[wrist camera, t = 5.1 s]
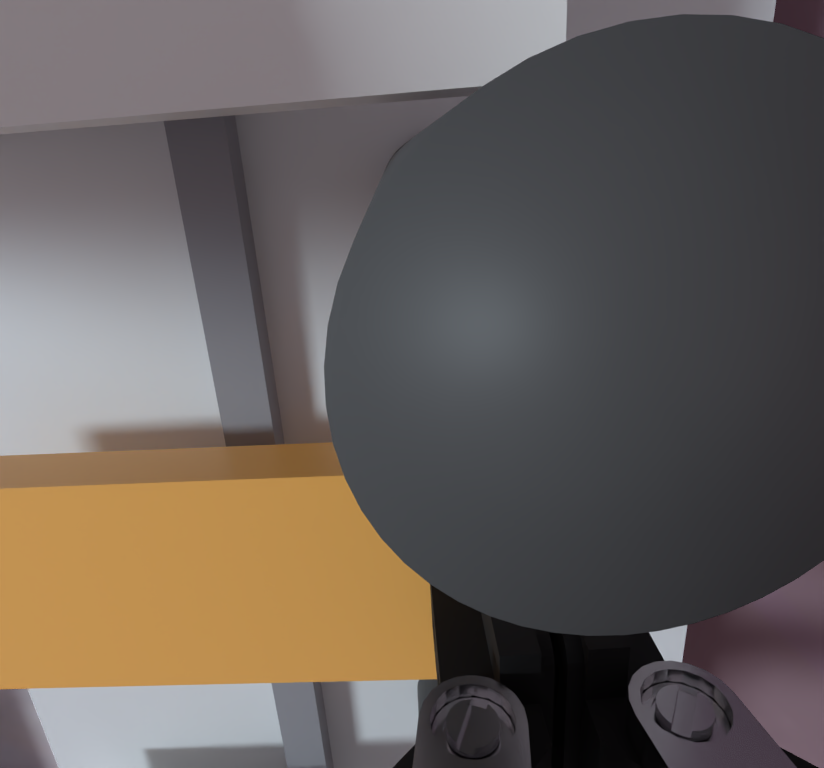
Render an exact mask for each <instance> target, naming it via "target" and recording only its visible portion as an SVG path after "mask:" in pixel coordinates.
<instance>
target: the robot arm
mask: <svg viewBox="0 0 824 768" xmlns="http://www.w3.org/2000/svg"><path fill="white" fill-rule="evenodd" d="M430 593H431V610H432V627H433V639H434V651H435V662H436V673H437V684H438V686H437V687H435V688H434V689H432V690H431V691H430V693H429V694H428V696H427V697H426V698H425V700H424V701H423V703H422V706H421V710H420V713H419V716H418V725H417V733H416V742H415V745H414V746H413V747H412V748H411V749H410V750H409V751H408V752H407V753H406V754H405V755H404V756H403V757H402V758H401V759H400V760H399V761H398V762H397V763H396V765H395V766H394V767H393V768H818V767H816V766H814V765H812V764H811V763H809V762H807V761H805V760H803V759H801V758H799V757H797V756H795V755H794V754H792V753H790V752H788V751H786V750H784V749H782V748H780V747H779V746H778V744H777V743H776V742H775V741H774V740H773V738H772V737H771V736H770V735H769V734H768V732H767V731H766V730H765V729H764V728H763V726H762V725H761V724H760V723H759V722H758V720H757V719H756V718H755V717H754V716H753V714H752V713H751V712H750V711H749V710H748V708H747V707H746V706H745V705H744V704H743V702H742V701H741V700H740V699H739V698H738V697H737V695H736V694H735V693H734V692H733V691H732V690H731V689H730V688H729V687H728V686H727V685H726V684H725V683H724V682H723V681H722V680H720V679H719V678H717V677H715V676H714V675H712V674H711V673H709V672H707V671H706V670H704V669H701V668H698V667H696V666H693V665H691V664H688V663H682V662H676V661H664V659H663V657H662V655H661V653H660V652H659V650H658V648H657V646H656V644H655V642H654V641H653V639H652V637H651V635H650V633H649V632H647V633H638V634H630V635H607V636H585V635H574V634H562V633H553V632H548V631H543V630H538V629H533V628H528V627H523V626H519V625H516V624H513V623H510V622H507V621H504V620H501V619H497V618H494V617H491V616H488V615H486V614H484V613H482V612H480V611H478V610H475V609H473V608H471V607H469V606H467V605H464V604H462V603H460V602H458V601H457V600H455V599H453V598H452V597H450V596H448V595H447V594H445V593H444V592H442V591H440V590H439V589H437V588H435V587H434V586H432V585H431V584H430Z"/></svg>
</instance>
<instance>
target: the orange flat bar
mask: <svg viewBox="0 0 824 768" xmlns="http://www.w3.org/2000/svg"><path fill="white" fill-rule="evenodd" d="M425 679H437V673H436V662H435V651H434V639H433V627H432V610H431V593H430V584H429V583H428V582H427V581H426V580H424V579H423V578H422V577H421V576H420V575H418V574H417V573H416V572H415V571H413V570H412V569H411V568H410V567H408V566H407V565H406V564H405V563H404V562H403V561H402V560H401V559H400V558H399V557H398V556H397V555H396V554H395V553H394V552H393V551H392V549H391V548H390V547H389V546H388V545H387V544H386V543H385V542H384V541H383V540H382V539H381V538H380V536H379V535H378V533H377V532H376V530H375V529H374V528H373V526H372V525H371V523H370V522H369V521H368V519H367V518H366V516H365V515H364V514H363V512H362V511H361V509H360V507H359V505H358V503H357V501H356V499H355V497H354V495H353V493H352V491H351V489H350V488H349V486H348V484H347V482H346V480H345V477H344V474H343V472H342V469H341V466H340V463H339V460H338V457H337V454H336V451H335V448H334V446H333V442H327V443H303V444H278V445H253V446H229V447H204V448H179V449H155V450H130V451H105V452H81V453H56V454H31V455H7V456H0V689H32V688H76V687H119V686H163V685H207V684H250V683H294V682H338V681H381V680H425Z"/></svg>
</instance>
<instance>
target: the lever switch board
mask: <svg viewBox="0 0 824 768" xmlns="http://www.w3.org/2000/svg"><path fill="white" fill-rule="evenodd" d="M775 5H776V0H567V22H566V41H565V42H563V43H561V44H559V45H556V46H554V47H552V48H550V49H547V50H545V51H543V52H541V53H538V54H536V55H534V56H532V57H529V58H527V59H526V60H524V61H523V62H521V63H519V64H518V65H516V66H514V67H513V68H511V69H510V70H508V71H506V72H505V73H503V74H501V75H500V76H498V77H497V78H495V79H493V80H492V81H490V82H488V83H487V84H485V85H484V86H482V87H481V88H479V89H478V90H477V91H475V92H474V93H473V94H471V95H470V96H463V97H451V98H439V99H426V100H414V101H402V102H390V103H378V104H366V105H353V106H341V107H329V108H317V109H305V110H292V111H280V112H268V113H256V114H244V115H232V116H219V117H207V118H195V119H183V120H171V121H158V122H146V123H134V124H122V125H110V126H98V127H85V128H73V129H61V130H49V131H37V132H24V133H12V134H0V456H7V455H31V454H56V453H81V452H105V451H130V450H155V449H179V448H204V447H229V446H253V445H278V444H303V443H327V442H333V446H334V448H335V451H336V454H337V457H338V460H339V463H340V466H341V469H342V472H343V474H344V477H345V480H346V482H347V484H348V486H349V488H350V489H351V491H352V493H353V495H354V497H355V499H356V501H357V503H358V505H359V507H360V509H361V511H362V512H363V514H364V515H365V516H366V518H367V519H368V521H369V522H370V523H371V525H372V526H373V528H374V529H375V530H376V532H377V533H378V535H379V536H380V538H381V539H382V540H383V541H384V542H385V543H386V544H387V545H388V546H389V547H390V548H391V549H392V551H393V552H394V553H395V554H396V555H397V556H398V557H399V558H400V559H401V560H402V561H403V562H404V563H405V564H406V565H407V566H408V567H410V568H411V569H412V570H413V571H415V572H416V573H417V574H418V575H420V576H421V577H422V578H423V579H424V580H426V581H427V582H428V583H429V584H431V585H432V586H434V587H435V588H437V589H439V590H440V591H442V592H444V593H445V594H447V595H448V596H450V597H452V598H453V599H455V600H457V601H458V602H460V603H462V604H464V605H467V606H469V607H471V608H473V609H475V610H478V611H480V612H482V613H484V614H486V615H488V616H491V617H494V618H497V619H501V620H504V621H507V622H510V623H513V624H516V625H519V626H523V627H528V628H533V629H538V630H543V631H548V632H553V633H562V634H574V635H585V636H607V635H630V634H638V633H647V632H649V633H650V635H651V637H652V639H653V641H654V642H655V644H656V646H657V648H658V650H659V652H660V653H661V655H662V657H663V659H664V661H676V662H682V659H683V652H684V645H685V638H686V631H687V625H689V624H693V623H696V622H700V621H703V620H706V619H709V618H712V617H715V616H718V615H721V614H724V613H727V612H730V611H732V610H735V609H737V608H739V607H742V606H744V605H746V604H749V603H751V602H753V601H756V600H758V599H760V598H763V597H764V596H766V595H768V594H770V593H772V592H774V591H775V590H777V589H779V588H781V587H783V586H784V585H786V584H788V583H790V582H792V581H794V580H795V579H797V578H798V577H800V576H801V575H803V574H804V573H806V572H807V571H809V570H810V569H812V568H813V567H815V566H816V565H818V564H819V563H821V562H822V561H824V38H821V37H818V36H815V35H813V34H810V33H807V32H804V31H801V30H798V29H796V28H793V27H790V26H787V25H784V24H781V23H775V22H773V19H774V12H775ZM437 686H438V684H437V679H425V680H381V681H338V682H294V683H250V684H207V685H163V686H119V687H76V688H32V689H28V692H29V694H30V697H31V699H32V702H33V705H34V707H35V710H36V712H37V715H38V717H39V720H40V722H41V725H42V727H43V730H44V732H45V735H46V738H47V740H48V743H49V745H50V748H51V750H52V753H53V755H54V758H55V760H56V763H57V765H58V768H393V767H394V766H395V765H396V763H397V762H398V761H399V760H400V759H401V758H402V757H403V756H404V755H405V754H406V753H407V752H408V751H409V750H410V749H411V748H412V747H413V746H414V745H415V742H416V733H417V725H418V716H419V713H420V710H421V706H422V703H423V701H424V700H425V698H426V697H427V696H428V694H429V693H430V691H431V690H432V689H434V688H435V687H437Z"/></svg>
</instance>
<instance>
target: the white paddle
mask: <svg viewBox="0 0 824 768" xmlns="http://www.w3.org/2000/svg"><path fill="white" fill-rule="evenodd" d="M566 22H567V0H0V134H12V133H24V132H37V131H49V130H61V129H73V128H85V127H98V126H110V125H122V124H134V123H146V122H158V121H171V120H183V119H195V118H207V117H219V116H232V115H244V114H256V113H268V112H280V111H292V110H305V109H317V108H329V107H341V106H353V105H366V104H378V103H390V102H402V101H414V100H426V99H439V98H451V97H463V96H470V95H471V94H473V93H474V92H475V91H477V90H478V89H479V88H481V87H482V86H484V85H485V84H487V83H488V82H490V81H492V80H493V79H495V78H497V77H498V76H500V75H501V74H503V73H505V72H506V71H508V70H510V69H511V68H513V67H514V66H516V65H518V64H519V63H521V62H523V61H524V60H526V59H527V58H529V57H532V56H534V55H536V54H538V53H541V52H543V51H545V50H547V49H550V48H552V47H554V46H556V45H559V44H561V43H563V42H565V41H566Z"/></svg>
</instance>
